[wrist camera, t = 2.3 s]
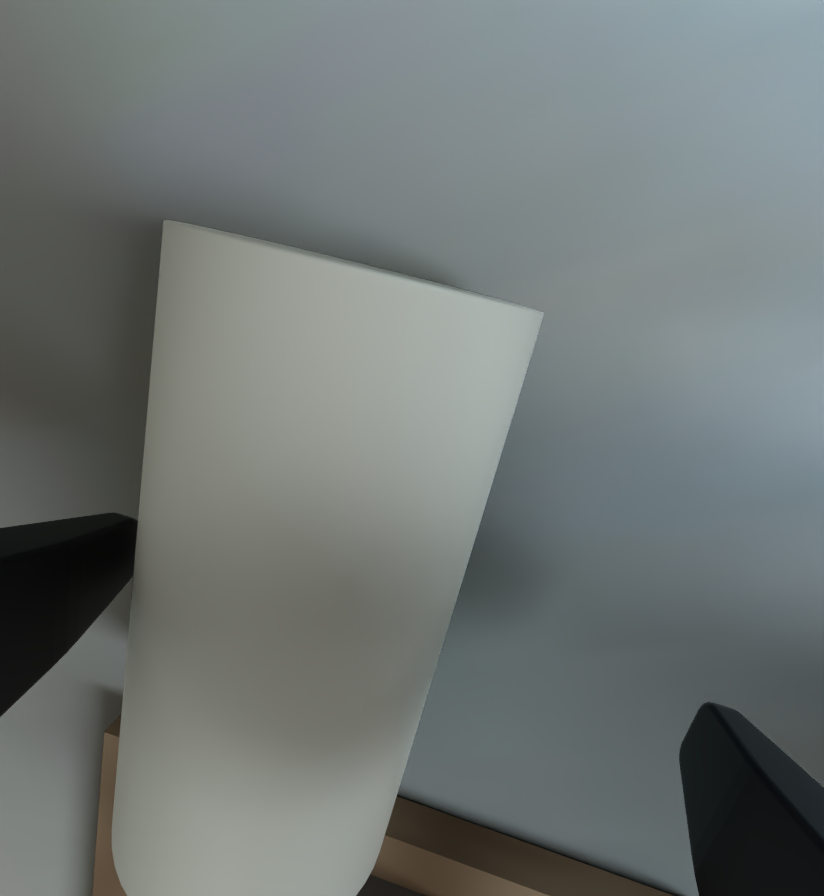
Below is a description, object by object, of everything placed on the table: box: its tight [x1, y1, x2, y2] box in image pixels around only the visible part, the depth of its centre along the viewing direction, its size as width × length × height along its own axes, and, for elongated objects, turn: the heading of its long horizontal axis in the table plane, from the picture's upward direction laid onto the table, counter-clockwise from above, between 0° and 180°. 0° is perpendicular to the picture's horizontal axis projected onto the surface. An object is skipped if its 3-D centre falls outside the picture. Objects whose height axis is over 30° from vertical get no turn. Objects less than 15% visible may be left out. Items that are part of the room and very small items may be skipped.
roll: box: [112, 220, 544, 896], centre depth 9 cm, size 5×10×5 cm
